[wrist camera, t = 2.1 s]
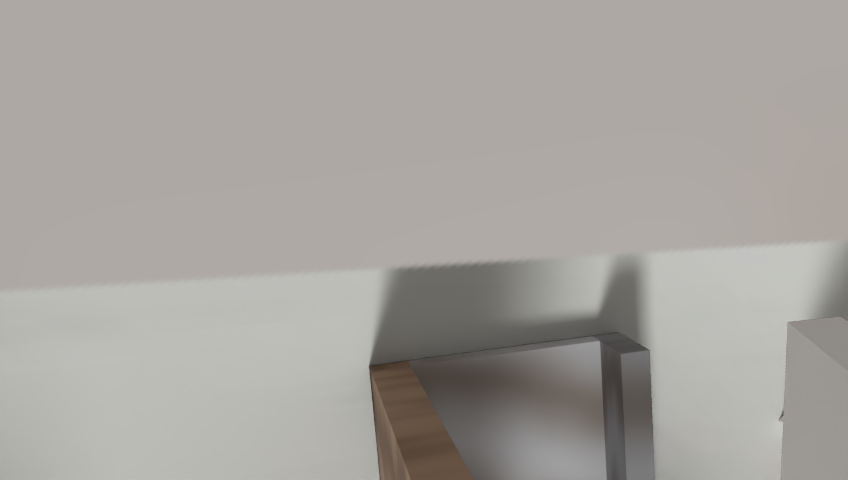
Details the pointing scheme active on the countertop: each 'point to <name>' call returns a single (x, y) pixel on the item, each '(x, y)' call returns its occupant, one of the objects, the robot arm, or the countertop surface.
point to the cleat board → (518, 413)
